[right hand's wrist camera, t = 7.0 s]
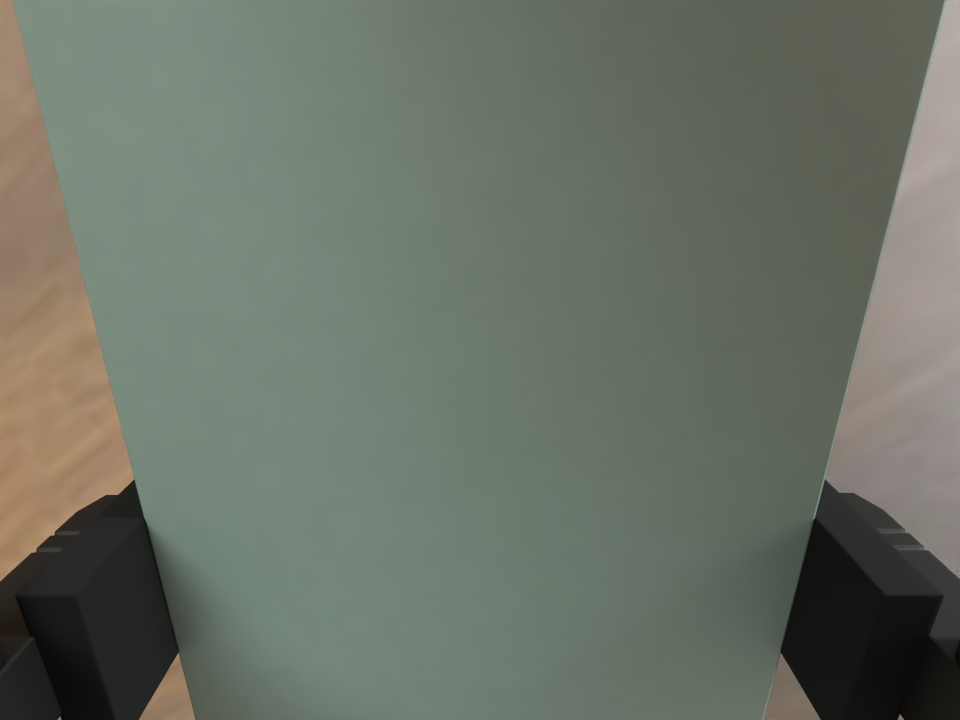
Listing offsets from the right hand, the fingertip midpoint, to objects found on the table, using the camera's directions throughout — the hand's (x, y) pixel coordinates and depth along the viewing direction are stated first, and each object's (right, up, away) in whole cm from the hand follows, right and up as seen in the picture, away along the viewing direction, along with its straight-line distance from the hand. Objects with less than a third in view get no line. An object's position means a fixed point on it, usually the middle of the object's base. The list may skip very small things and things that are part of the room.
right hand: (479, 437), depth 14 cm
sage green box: (0, +5, +4) cm, 6 cm away
